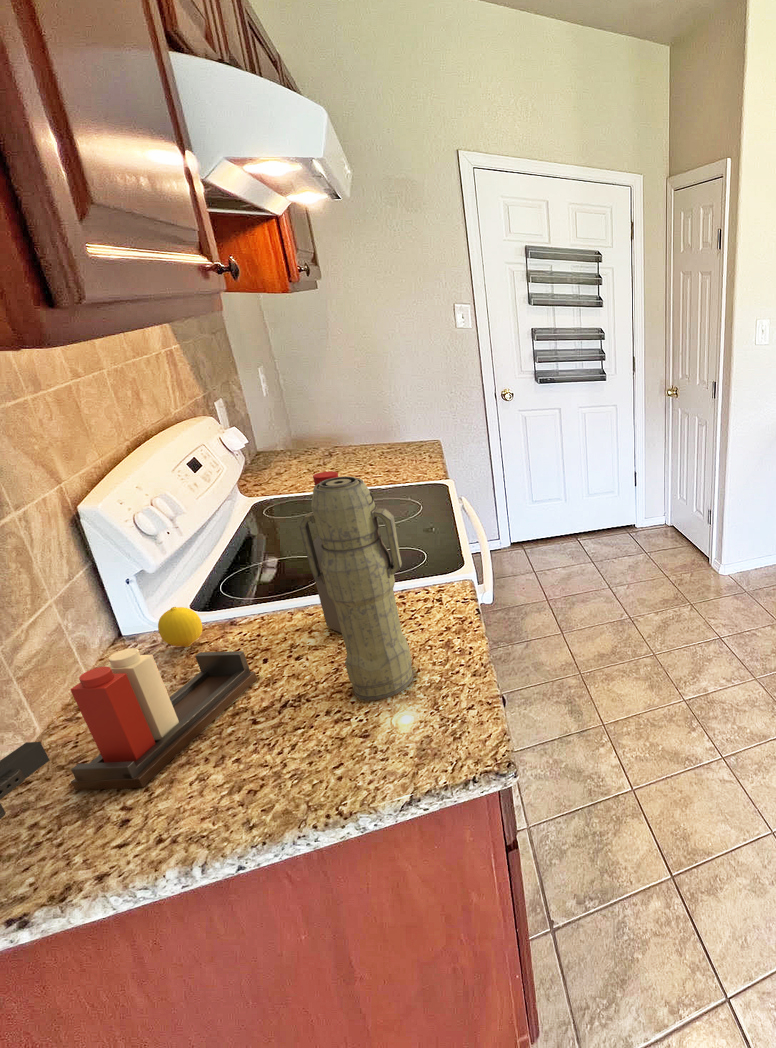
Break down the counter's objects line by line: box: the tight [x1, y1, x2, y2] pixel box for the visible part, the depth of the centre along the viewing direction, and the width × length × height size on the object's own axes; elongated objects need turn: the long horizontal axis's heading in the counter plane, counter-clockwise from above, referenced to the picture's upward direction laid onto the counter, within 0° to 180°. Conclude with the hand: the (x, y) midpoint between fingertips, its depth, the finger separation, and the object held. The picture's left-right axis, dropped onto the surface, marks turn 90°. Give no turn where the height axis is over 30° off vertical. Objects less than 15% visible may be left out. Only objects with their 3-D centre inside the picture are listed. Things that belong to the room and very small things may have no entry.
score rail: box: [70, 650, 258, 791], centre depth 82 cm, size 8×22×6 cm, turn 5°
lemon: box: [157, 606, 203, 648], centre depth 100 cm, size 6×6×8 cm
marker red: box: [70, 666, 156, 763], centre depth 74 cm, size 4×3×13 cm
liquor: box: [312, 470, 342, 634], centre depth 105 cm, size 9×9×30 cm
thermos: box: [298, 476, 414, 701], centre depth 87 cm, size 9×12×35 cm
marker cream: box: [103, 647, 179, 740], centre depth 77 cm, size 4×3×13 cm
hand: (37, 751), depth 65 cm, fingers closed
